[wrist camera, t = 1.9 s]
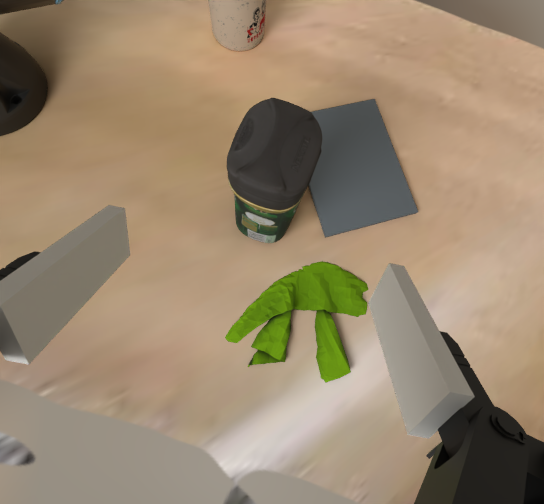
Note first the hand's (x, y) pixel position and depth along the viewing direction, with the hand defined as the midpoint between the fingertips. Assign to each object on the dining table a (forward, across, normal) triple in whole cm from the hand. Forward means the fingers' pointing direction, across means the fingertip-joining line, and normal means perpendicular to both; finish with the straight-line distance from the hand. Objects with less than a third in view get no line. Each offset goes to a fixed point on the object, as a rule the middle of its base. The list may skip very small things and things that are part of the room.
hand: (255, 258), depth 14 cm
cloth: (+15, +8, -22) cm, 28 cm away
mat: (+33, +11, -2) cm, 35 cm away
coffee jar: (+26, 0, -10) cm, 28 cm away
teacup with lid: (+48, -11, +13) cm, 51 cm away
